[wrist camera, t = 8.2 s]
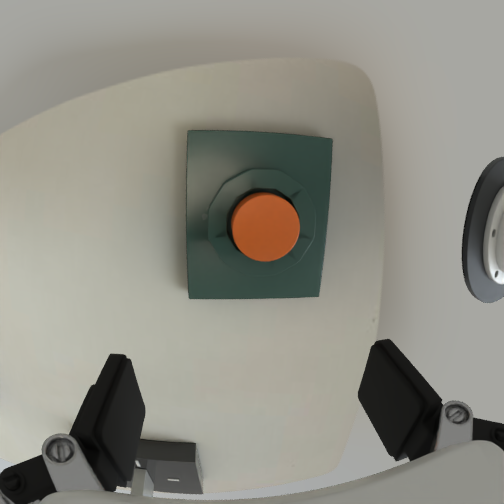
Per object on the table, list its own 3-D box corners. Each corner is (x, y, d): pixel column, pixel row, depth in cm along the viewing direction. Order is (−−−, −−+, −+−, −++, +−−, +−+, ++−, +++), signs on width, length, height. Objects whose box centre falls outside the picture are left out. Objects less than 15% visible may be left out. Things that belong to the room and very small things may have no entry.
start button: (294, 193, 18) (302, 196, 16) (290, 253, 19) (297, 261, 18) (231, 191, 18) (233, 193, 16) (230, 253, 19) (231, 262, 17)
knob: (134, 467, 25) (129, 498, 20) (146, 469, 25) (142, 500, 20) (143, 483, 26) (139, 510, 21) (154, 484, 26) (151, 512, 22)
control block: (326, 139, 20) (343, 136, 17) (314, 290, 23) (326, 307, 20) (189, 132, 19) (184, 126, 16) (190, 292, 22) (186, 310, 19)
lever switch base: (195, 443, 28) (195, 463, 25) (202, 478, 30) (203, 495, 27) (87, 430, 26) (81, 448, 23) (110, 468, 29) (106, 484, 26)
